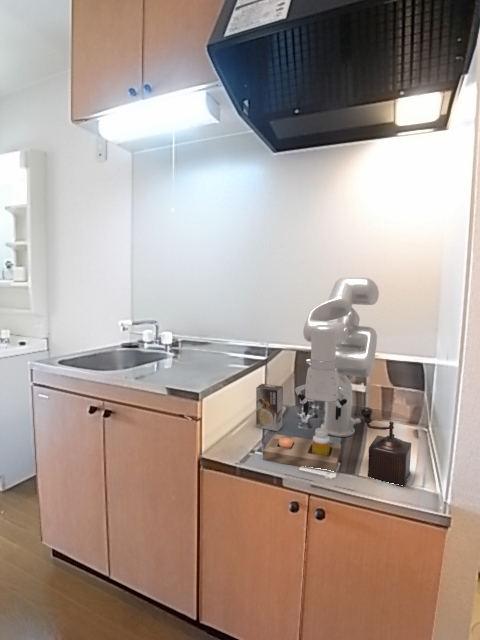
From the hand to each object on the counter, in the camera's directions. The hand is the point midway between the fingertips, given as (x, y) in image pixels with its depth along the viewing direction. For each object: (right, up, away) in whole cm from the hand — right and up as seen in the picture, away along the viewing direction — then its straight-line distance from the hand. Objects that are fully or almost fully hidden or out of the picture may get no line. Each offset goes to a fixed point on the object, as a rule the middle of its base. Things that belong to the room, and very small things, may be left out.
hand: (321, 416), depth 122 cm
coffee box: (-15, -11, +27) cm, 33 cm away
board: (-6, -14, +3) cm, 15 cm away
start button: (-11, -12, +5) cm, 17 cm away
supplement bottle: (0, -14, +1) cm, 14 cm away
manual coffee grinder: (+16, -15, -7) cm, 23 cm away
